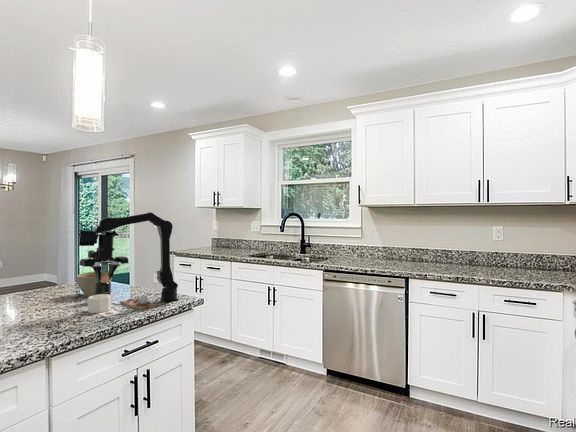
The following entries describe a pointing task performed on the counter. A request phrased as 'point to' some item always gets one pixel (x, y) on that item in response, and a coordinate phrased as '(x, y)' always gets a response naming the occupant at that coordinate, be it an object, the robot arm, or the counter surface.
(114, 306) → the counter surface
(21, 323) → the counter surface
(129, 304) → the stand
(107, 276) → the ball terracotta
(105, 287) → the supplement bottle
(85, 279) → the planter bowl
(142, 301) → the ball grey
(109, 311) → the tile
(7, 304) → the counter surface
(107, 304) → the cup
